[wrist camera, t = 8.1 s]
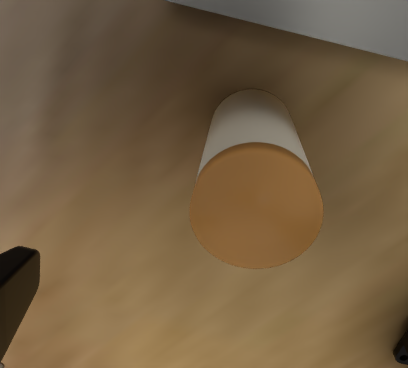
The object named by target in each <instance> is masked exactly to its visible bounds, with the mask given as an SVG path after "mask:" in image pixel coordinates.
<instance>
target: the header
mask: <svg viewBox="0 0 408 368" xmlns="http://www.w3.org/2000/svg"><path fill="white" fill-rule="evenodd" d="M165 1H169V2H173V3H177V4H181V5H185V6H189V7H193V8H197V9H201V10H205V11H209V12H213V13H217V14H221V15H225V16H229V17H233V18H237V19H241V20H245V21H249V22H253V23H257V24H261V25H265V26H269V27H273V28H277V29H281V30H285V31H289V32H293V33H297V34H301V35H305V36H309V37H313V38H317V39H321V40H325V41H329V42H333V43H337V44H341V45H345V46H349V47H353V48H357V49H361V50H365V51H369V52H373V53H377V54H380V55H384V56H388V57H392V58H396V59H400V60H404V61H408V0H165Z"/></svg>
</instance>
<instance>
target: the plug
mask: <svg viewBox="0 0 408 368" xmlns="http://www.w3.org/2000/svg"><path fill="white" fill-rule="evenodd" d="M323 210H324V209H323V201H322V198H321V194H320V192H319V189H318V187H317V184H316V181H315V179H314V176H313V173H312V171H311V168H310V166H309V163H308V160H307V158H306V155H305V153H304V150H303V147H302V145H301V142H300V140H299V137H298V134H297V132H296V129H295V126H294V124H293V121H292V119H291V116H290V114H289V111H288V109H287V108H286V106H285V105H284V104H283V102H282V101H281V100H280V99H279V98H277V97H276V96H274V95H273V94H271V93H269V92H266V91H263V90H258V89H247V90H242V91H239V92H236V93H234V94H232V95H230V96H228V97H227V98H226V99H224V100H223V101H222V102H221V103H220V105H219V106H218V107H217V109H216V110H215V112H214V114H213V117H212V120H211V124H210V128H209V132H208V136H207V140H206V144H205V148H204V151H203V155H202V159H201V163H200V167H199V171H198V175H197V179H196V182H195V186H194V190H193V194H192V198H191V203H190V222H191V225H192V229H193V231H194V233H195V235H196V237H197V239H198V240H199V242H200V243H201V244H202V246H203V247H204V248H205V249H206V250H207V251H208V252H209V253H211V254H212V255H213V256H215V257H216V258H218V259H220V260H222V261H223V262H226V263H228V264H231V265H234V266H237V267H242V268H250V269H263V268H271V267H275V266H279V265H282V264H284V263H287V262H289V261H291V260H293V259H295V258H296V257H298V256H299V255H301V254H302V253H303V252H304V251H306V250H307V248H308V247H309V246H310V245H311V244H312V243H313V241H314V240H315V239H316V237H317V235H318V233H319V231H320V228H321V225H322V221H323Z"/></svg>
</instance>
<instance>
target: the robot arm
mask: <svg viewBox="0 0 408 368" xmlns="http://www.w3.org/2000/svg"><path fill="white" fill-rule="evenodd" d="M39 281H40V253H39V251H37V250H36V249H31V248H27V247H23V246H17V247H14V248H12V249H10V250H8V251H6V252H4V253H1V254H0V362H1V360H2V359H3V357H4V355H5V353H6V351H7V349H8V347H9V345H10V343H11V341H12V339H13V337H14V335H15V333H16V331H17V329H18V327H19V325H20V324H21V322H22V320H23V318H24V316H25V314H26V312H27V310H28V308H29V306H30V304H31V302H32V300H33V298H34V296H35V294H36V292H37V289H38V286H39ZM393 354H394V357H395V359H396V361H397V362H399V363H402V364H406V365H408V330H407V332H406V333H405V335H404V336H403V338H402V339H401V341H400V342H399V344H398V345H397V347H396V348H395V350H394V352H393Z"/></svg>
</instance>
